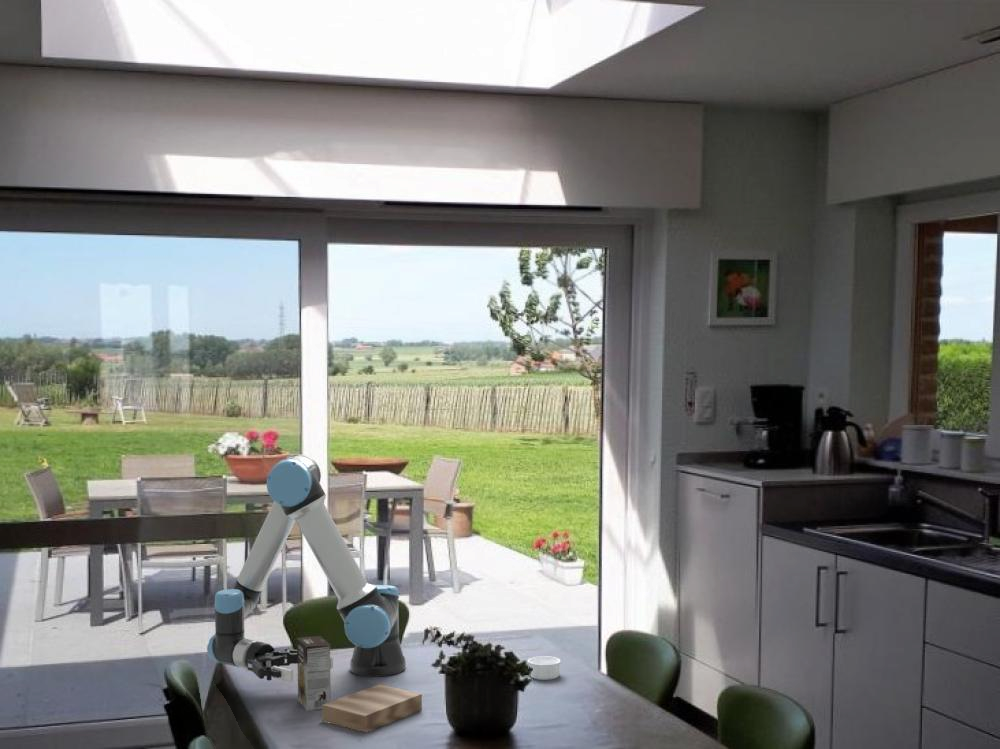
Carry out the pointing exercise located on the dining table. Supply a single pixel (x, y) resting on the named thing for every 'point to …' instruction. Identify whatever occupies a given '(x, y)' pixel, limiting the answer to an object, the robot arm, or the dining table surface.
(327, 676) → the coffee box
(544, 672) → the ramekin
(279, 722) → the dining table surface
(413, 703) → the riser
